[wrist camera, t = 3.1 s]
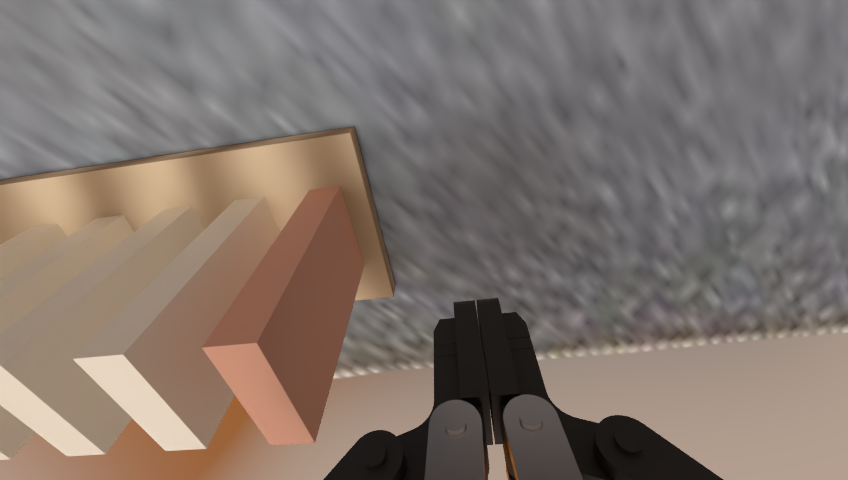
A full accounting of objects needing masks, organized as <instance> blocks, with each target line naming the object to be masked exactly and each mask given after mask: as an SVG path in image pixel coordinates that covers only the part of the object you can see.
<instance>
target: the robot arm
mask: <svg viewBox="0 0 848 480" xmlns="http://www.w3.org/2000/svg"><path fill="white" fill-rule="evenodd" d="M477 312H478V319H477ZM477 312H476V305H475V300H473V301H463V302H454V315H455V318H450V319H440V320H439V322H438V324H437V326H436V328H435V330H434V406H433V410H432V412H431V414H430V416H429V417H428V418H427V420H426V421H425V422H424V423H423V424H422V425H420V426H419V427H417V428H415V429H413V430H411V431H408V432H406V433H404V434H401V435H399V436H397V437H396V436H395V435H394V434H392V433H391V432H388V431H384V430H377V431H372V432H369V433H367V434H366V435H364V436H363V437H361V438H360V439H359V440H358V441H357V442H356V443H355V445H354V446H353V447H352V448H351V449H350V450H349V451H348V452H347V454H346V455H345V456H344V457H343V458H342V459H341V460H340V461H339V463H338V464H337V465H336V466H335V467H334V468H333V469H332V471H331V472H330V473H329V474H328V475H327V476H326V478H324V480H488V474H489V460H488V450H487V445H493V439H492V427H491V418H492V425H493V431H494V438H495V444H503V448H504V454H505V461H506V473H507V478H508V480H723V479H721V478H720V477H719V476H717V475H716V474H714V473H713V472H711V471H710V470H708V469H707V468H706V467H704V466H703V465H701V464H700V463H698V462H697V461H696V460H694V459H693V458H691V457H690V456H689V455H687V454H686V453H684V452H683V451H681V450H680V449H679V448H677V447H675V446H674V445H673V444H671V443H670V442H668V441H667V440H666V439H664V438H663V437H661V436H660V435H658V434H657V433H655V432H654V431H653V430H651V429H650V428H648V427H647V426H646V425H644V424H643V423H641V422H639V421H638V420H635V419H633V418H630V417H627V416H621V415H615V416H609V417H607V418H605V419H603V420H602V421H601V422H600V423H595V422H591V421H587V420H583V419H579V418H575V417H572V416H570V415H568V414H566V413H564V412H562V411H561V410H560V409H558V408H557V407H556V406H555V405H554V404H553V403H552V401H551V400H550V398H549V397H548V395H547V392H546V389H545V386H544V382H543V379H542V376H541V372H540V369H539V365H538V362H537V359H536V355H535V352H534V350H533V345H532V342H531V339H530V335H529V331H528V328H527V325H526V323H525V321H524V320H523V319H522V318H521V317H520V316H519V315H518V314H517V312H512V313H502V312H501V308H500V304H499V300H498V298H492V299H482V300H477ZM478 322H479V326H478ZM479 332H480V333H479ZM490 411H491V416H490Z"/></svg>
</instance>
